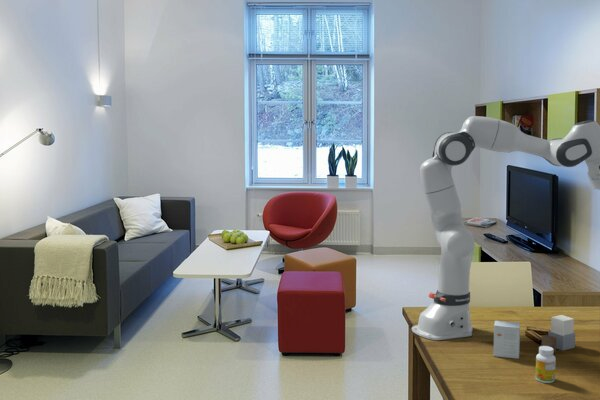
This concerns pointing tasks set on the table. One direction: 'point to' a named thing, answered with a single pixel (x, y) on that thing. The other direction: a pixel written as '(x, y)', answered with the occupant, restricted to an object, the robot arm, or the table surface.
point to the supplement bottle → (545, 365)
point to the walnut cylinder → (549, 342)
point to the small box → (506, 339)
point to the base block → (564, 340)
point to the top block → (562, 325)
